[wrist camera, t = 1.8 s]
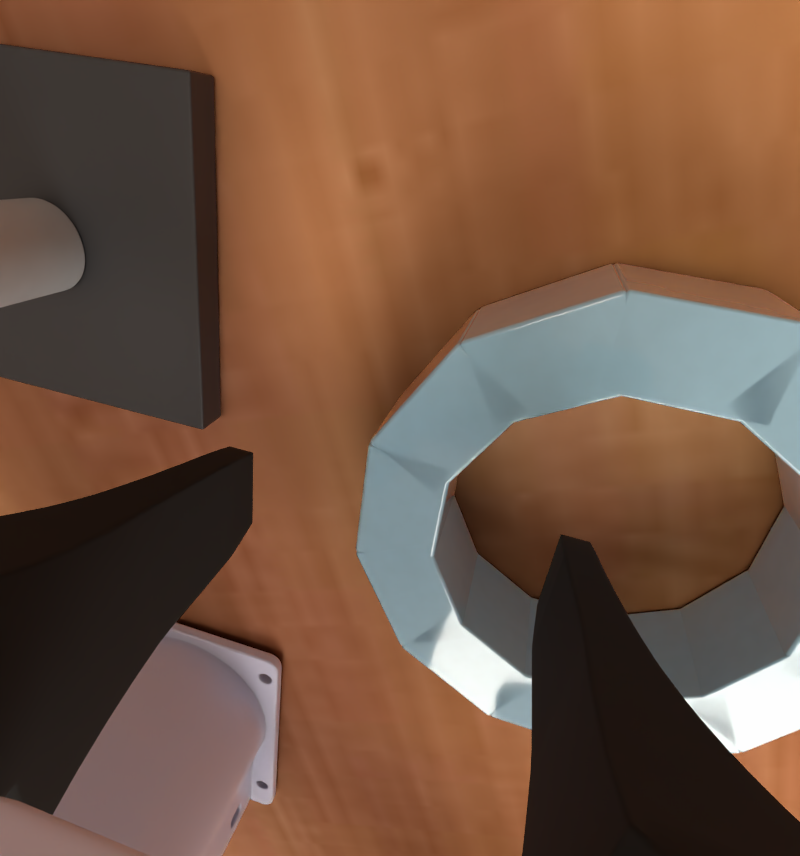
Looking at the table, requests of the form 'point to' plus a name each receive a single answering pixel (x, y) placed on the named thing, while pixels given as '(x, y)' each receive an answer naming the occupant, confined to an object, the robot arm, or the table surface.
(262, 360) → the table surface
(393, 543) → the ring
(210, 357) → the stand
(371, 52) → the table surface
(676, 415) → the table surface
